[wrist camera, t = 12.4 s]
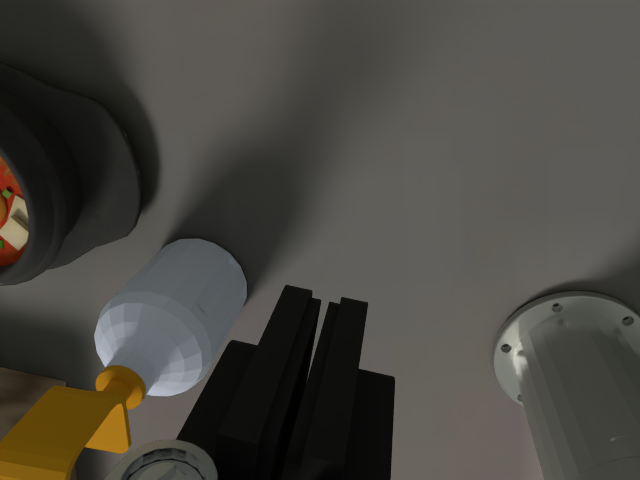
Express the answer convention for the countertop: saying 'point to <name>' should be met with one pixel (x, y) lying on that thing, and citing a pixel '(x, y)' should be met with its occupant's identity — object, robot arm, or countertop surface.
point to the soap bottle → (134, 358)
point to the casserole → (59, 177)
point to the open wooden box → (22, 398)
